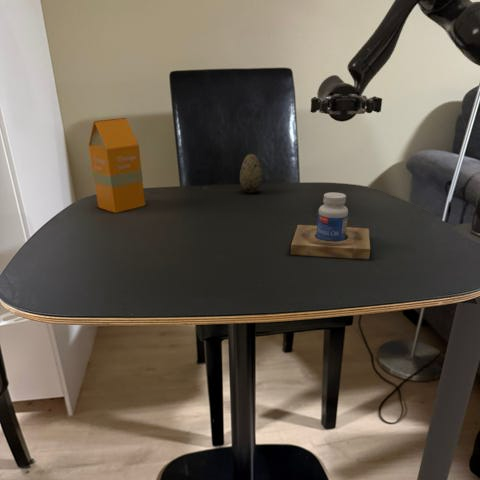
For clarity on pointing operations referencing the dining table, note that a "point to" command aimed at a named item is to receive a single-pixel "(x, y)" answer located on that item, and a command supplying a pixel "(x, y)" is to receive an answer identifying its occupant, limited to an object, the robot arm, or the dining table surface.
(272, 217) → the dining table surface
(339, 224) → the pill bottle
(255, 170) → the decorative egg
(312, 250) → the pad
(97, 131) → the orange juice
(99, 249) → the dining table surface
